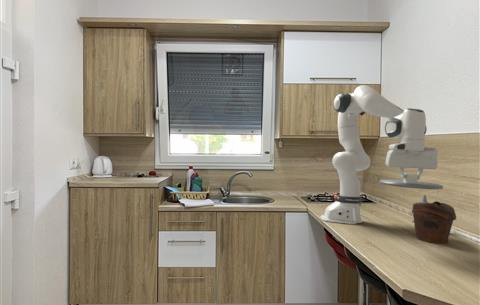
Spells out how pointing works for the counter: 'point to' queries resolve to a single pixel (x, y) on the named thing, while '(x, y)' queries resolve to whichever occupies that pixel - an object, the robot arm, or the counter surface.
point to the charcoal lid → (411, 182)
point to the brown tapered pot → (433, 221)
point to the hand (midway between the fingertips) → (410, 178)
